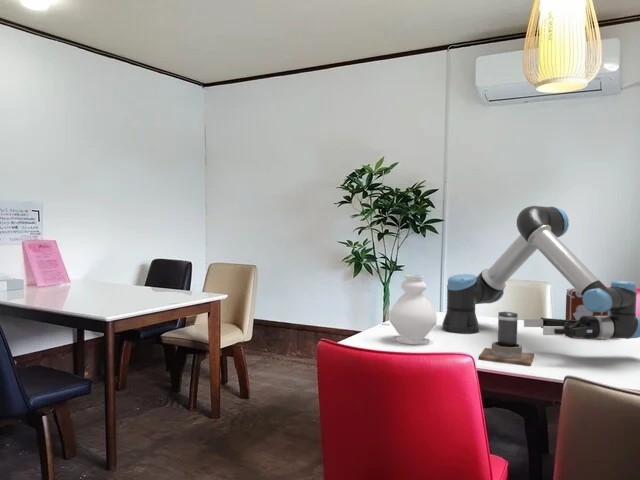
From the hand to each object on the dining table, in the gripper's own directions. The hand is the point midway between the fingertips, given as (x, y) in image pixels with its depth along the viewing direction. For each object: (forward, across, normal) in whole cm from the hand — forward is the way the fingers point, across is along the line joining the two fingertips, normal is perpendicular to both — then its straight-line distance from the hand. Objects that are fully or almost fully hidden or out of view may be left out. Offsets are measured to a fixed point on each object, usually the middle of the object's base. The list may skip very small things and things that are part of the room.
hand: (533, 326), depth 171 cm
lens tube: (+9, 0, -10) cm, 13 cm away
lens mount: (+9, 0, -11) cm, 14 cm away
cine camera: (-41, +33, -11) cm, 53 cm away
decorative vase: (+35, +25, -11) cm, 44 cm away
